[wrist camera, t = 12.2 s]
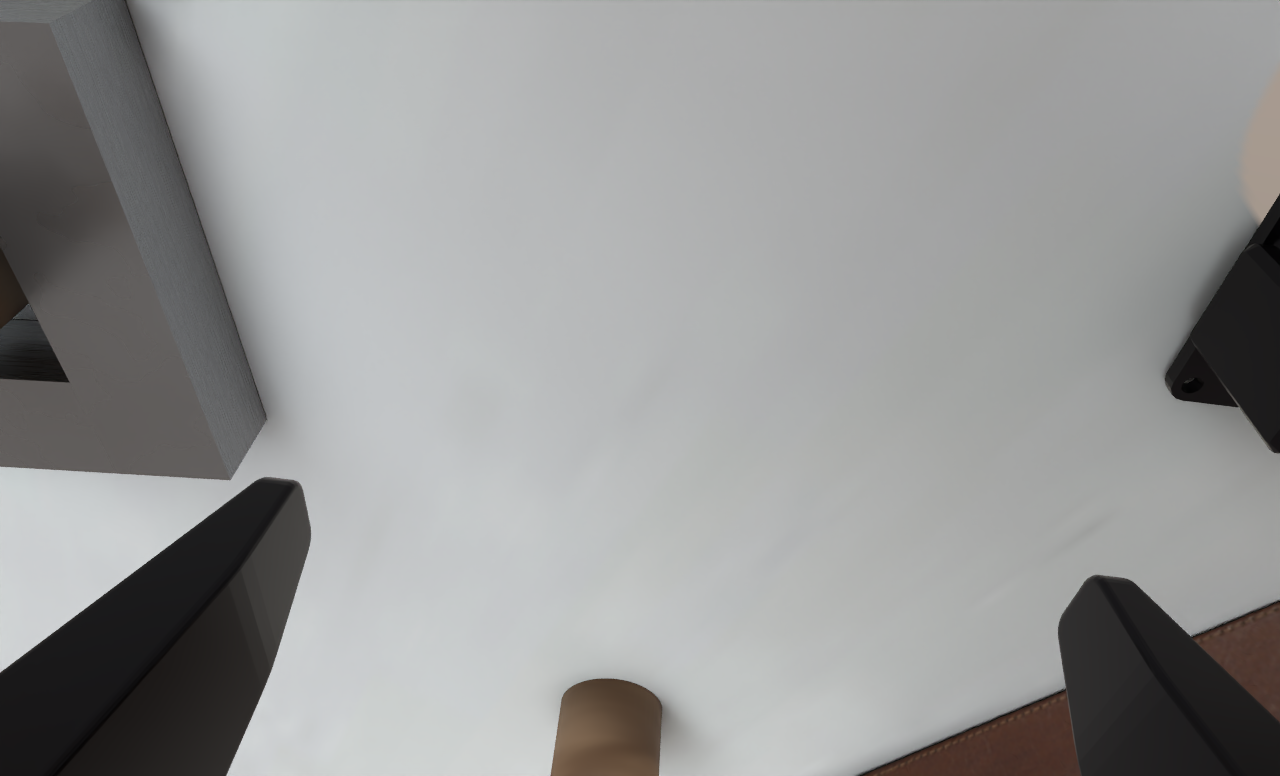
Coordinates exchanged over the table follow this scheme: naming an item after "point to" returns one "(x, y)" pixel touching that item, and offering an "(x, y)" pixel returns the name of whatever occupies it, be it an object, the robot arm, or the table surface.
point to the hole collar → (107, 264)
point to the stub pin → (608, 730)
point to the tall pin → (9, 292)
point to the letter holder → (1042, 732)
